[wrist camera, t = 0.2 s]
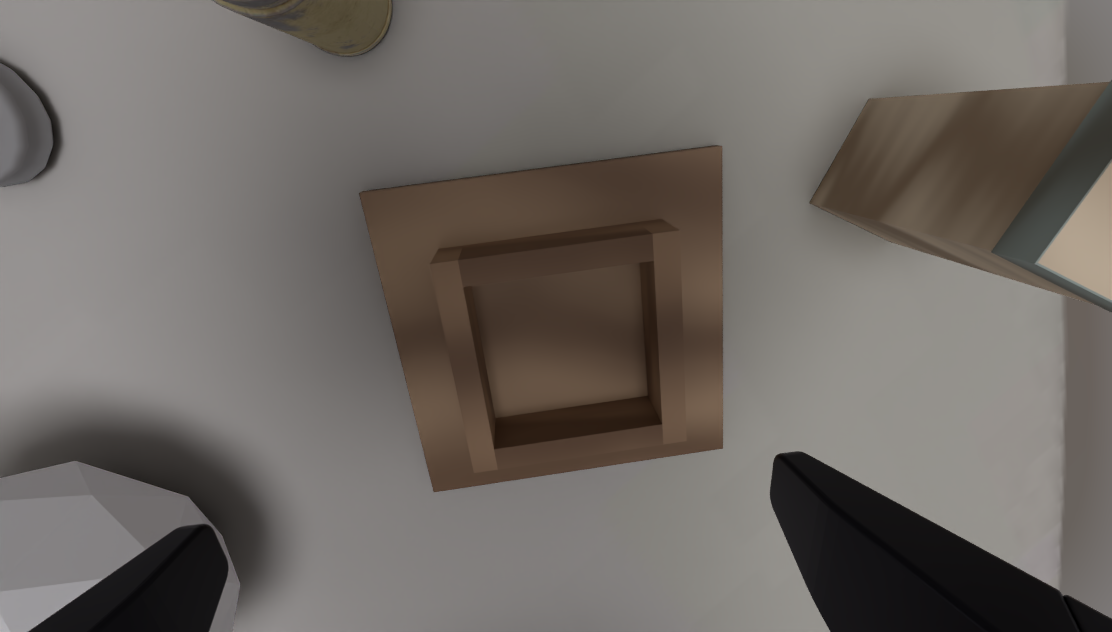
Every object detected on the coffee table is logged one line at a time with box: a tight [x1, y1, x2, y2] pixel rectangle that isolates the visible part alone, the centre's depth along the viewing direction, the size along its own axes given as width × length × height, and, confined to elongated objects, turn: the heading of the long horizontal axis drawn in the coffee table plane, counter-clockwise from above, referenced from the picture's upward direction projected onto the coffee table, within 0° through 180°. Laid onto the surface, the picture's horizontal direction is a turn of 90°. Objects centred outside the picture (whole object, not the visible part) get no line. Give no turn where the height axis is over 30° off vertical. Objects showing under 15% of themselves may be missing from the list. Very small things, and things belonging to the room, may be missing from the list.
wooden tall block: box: [810, 81, 1112, 312], centre depth 17 cm, size 4×4×10 cm
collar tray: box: [359, 145, 723, 492], centre depth 21 cm, size 14×14×3 cm
